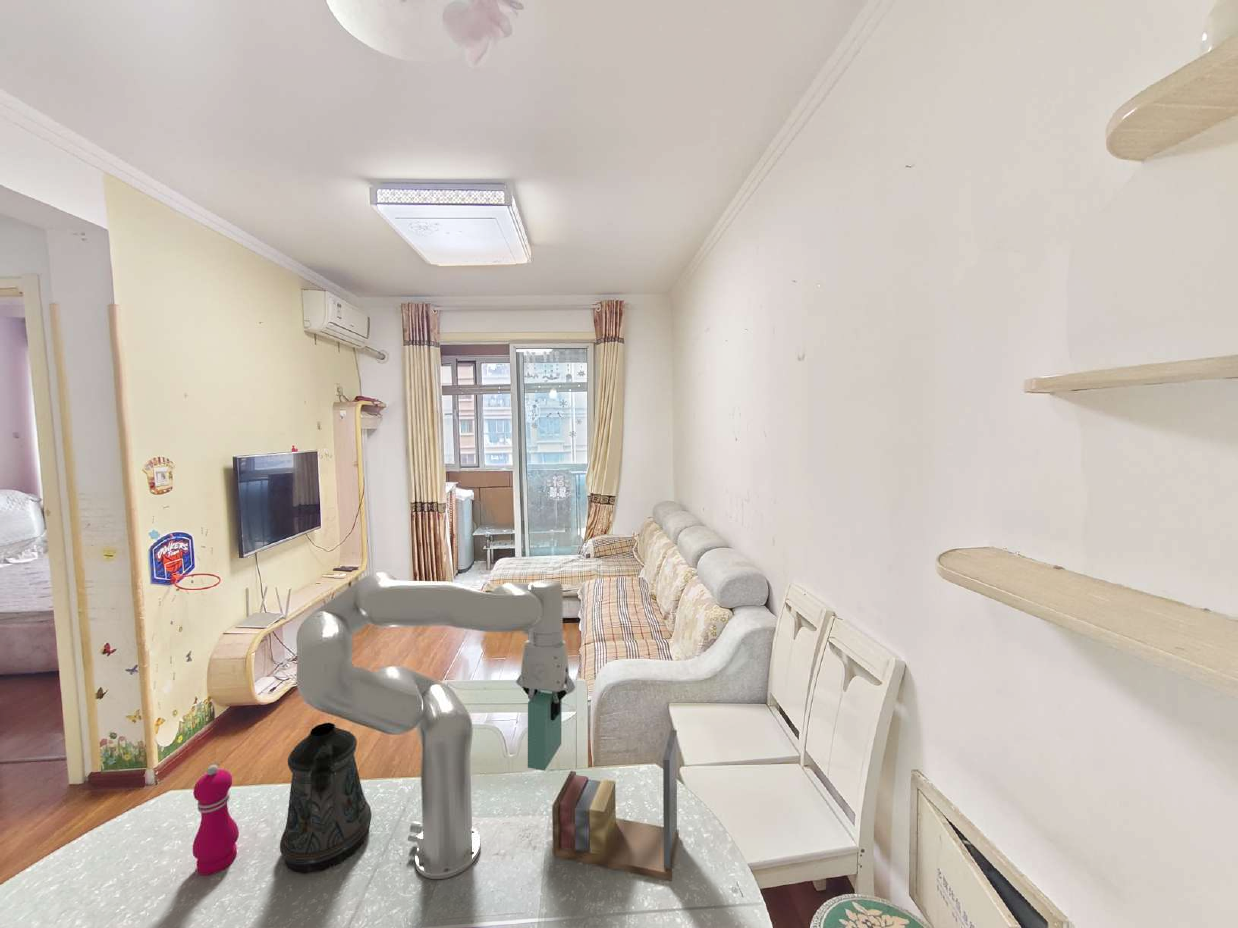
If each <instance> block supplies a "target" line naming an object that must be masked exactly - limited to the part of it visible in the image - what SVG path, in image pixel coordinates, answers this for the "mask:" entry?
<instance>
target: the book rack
mask: <svg viewBox="0 0 1238 928" xmlns="http://www.w3.org/2000/svg"><path fill="white" fill-rule="evenodd" d="M616 795H617V794H616V781H614V780H610V779H609V780H608V779H603V778H602V779H601V780H597V779H596V780H594V779H589V776H585V775H579V774H577V771H575V770H574V771H573V770H570V772H569V773H568V775H567V777H566V779H565V781H564V783H563V785H562V787H561V789H560V791H559V793H558V794H557V796H556V798H555V800H554V802H553V804H552V806H551V807H552V808H551V811H552V812H551V813H552V814H551V815H552V856H553V857H555V858H561V859H565V860H570V861H575V862H578V863H579V862H580V863H583V864H587V865H593V866H597V867H603V868H607V869H611V870H615V871H622V872H627V873H631V874H635V875H639V876H646V877H650V878H654V879H658V880H662V881H668V882H671V881H672V878H673V871H674V865H675V860H676V854H677V849H678V843H679V838H680V837H679V833H680V830H679V829H677V832H676V838H675V843H674V849H673V855H672V860H671V866H670V870H669V869H664V845H663V826H661V825H660V826H659V825H654V824H651V823H646V822H645V823H644V822H639V821H636V820H635V821H634V820H628V819H623V818H620V817H619V818H618V817H617V816H616V814H617V813H616V809H617V808H616V806H617V805H616V800H617V799H616Z"/></svg>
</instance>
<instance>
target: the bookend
mask: <svg viewBox="0 0 1238 928" xmlns="http://www.w3.org/2000/svg"><path fill="white" fill-rule="evenodd" d="M669 731H670V732H669V736H668V740H667V744H666V748H665V752H664V755H663V759H662V760H663V761H662V763H663V765H662V767H663V768H662V769H663V770H662V773H663V774H662V777H663V778H662V779H663V780H662V781H663V782H662V783H663V785H662V786H663V787H662V789H663V790H662V793H663V795H662V797H663V799H662V800H663V801H662V802H663V807H662V808H663V809H662V810H663V817H662V818H663V823H662V824H663V825H662V827H663V845H664V869H669V870H670V866H671V860H672V855H673V849H674V843H675V838H676V832H677V830H678V783H677V782H678V769H677V768H678V766H677V765H678V761H677V760H678V753H677V752H678V750H677V749H678V741H677V740H678V730H677V729H672V728H671V729H670V730H669Z"/></svg>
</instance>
